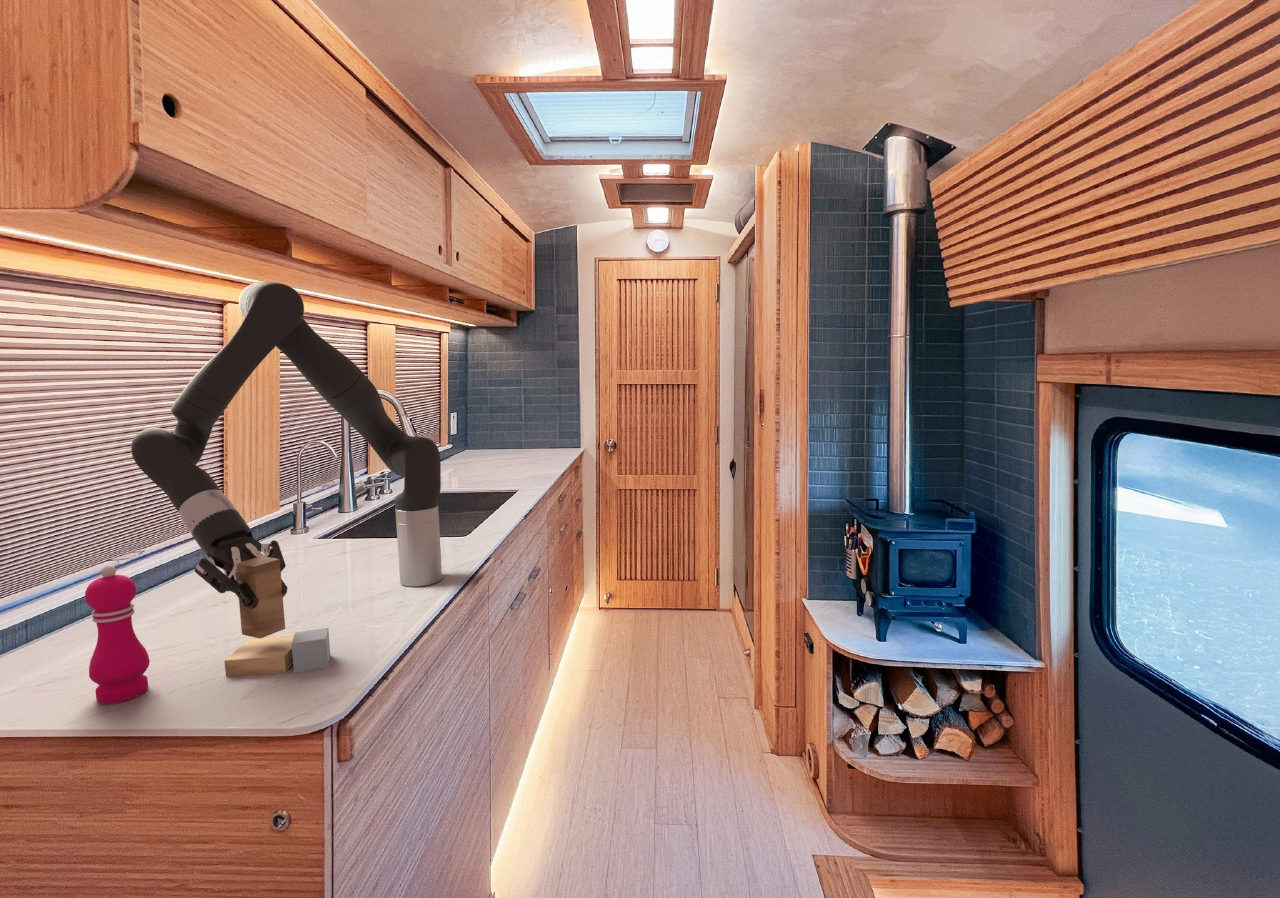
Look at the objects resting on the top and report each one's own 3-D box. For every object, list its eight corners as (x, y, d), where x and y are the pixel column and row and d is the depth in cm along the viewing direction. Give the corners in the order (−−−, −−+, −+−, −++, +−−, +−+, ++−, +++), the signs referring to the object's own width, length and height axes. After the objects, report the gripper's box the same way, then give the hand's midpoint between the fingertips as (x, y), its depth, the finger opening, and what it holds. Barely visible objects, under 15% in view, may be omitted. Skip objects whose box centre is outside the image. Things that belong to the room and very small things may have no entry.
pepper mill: (133, 680, 106) (119, 557, 104) (163, 687, 103) (149, 561, 101) (81, 701, 100) (64, 570, 97) (111, 709, 97) (95, 575, 94)
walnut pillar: (241, 634, 110) (235, 563, 109) (267, 624, 114) (261, 556, 113) (260, 638, 108) (254, 566, 107) (285, 628, 112) (279, 559, 111)
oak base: (251, 655, 116) (249, 638, 116) (305, 651, 117) (304, 634, 117) (226, 678, 107) (224, 660, 107) (285, 673, 108) (284, 655, 108)
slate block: (297, 661, 112) (295, 632, 112) (330, 655, 114) (328, 627, 113) (294, 673, 108) (291, 643, 107) (328, 667, 109) (326, 638, 109)
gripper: (179, 517, 106) (237, 600, 102) (263, 500, 119) (316, 574, 115) (162, 546, 108) (217, 629, 105) (245, 527, 121) (297, 600, 118)
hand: (269, 600), depth 110 cm, fingers closed on walnut pillar, 4 cm apart
